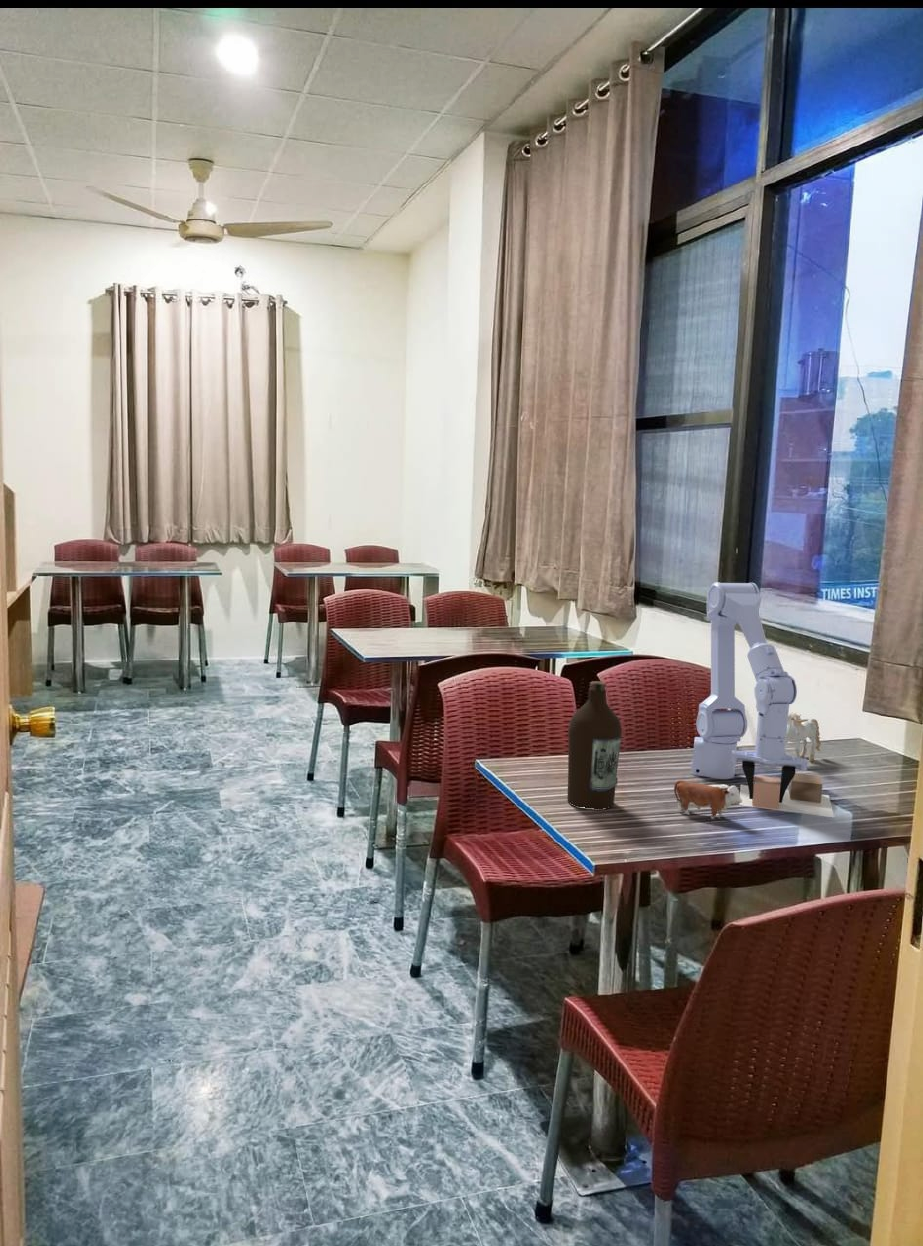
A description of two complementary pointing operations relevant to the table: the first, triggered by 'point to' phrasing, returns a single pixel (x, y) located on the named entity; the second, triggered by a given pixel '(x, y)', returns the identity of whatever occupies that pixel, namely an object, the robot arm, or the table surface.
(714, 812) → the bull figurine
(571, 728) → the brown bottle
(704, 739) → the robot arm
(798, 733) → the unicorn figurine
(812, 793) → the walnut block
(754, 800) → the terracotta block
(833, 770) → the table surface
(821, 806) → the base plate
